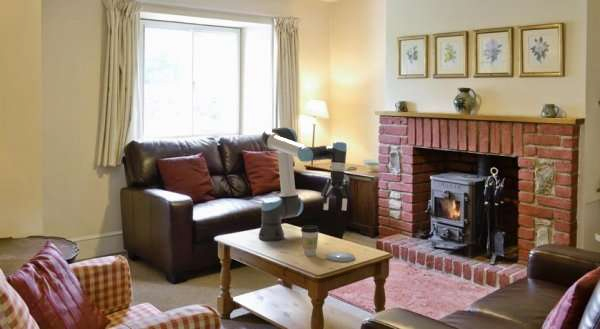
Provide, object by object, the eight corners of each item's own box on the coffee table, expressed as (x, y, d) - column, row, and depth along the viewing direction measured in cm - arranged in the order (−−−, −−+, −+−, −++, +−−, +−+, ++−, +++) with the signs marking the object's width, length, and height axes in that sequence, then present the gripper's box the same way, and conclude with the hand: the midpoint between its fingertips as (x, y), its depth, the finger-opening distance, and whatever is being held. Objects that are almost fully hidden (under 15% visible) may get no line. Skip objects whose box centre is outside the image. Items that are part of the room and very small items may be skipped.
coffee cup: (317, 257, 305) (317, 229, 303) (298, 256, 307) (299, 228, 305) (320, 252, 315) (320, 225, 313) (302, 251, 316) (302, 224, 314)
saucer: (328, 253, 312) (329, 251, 312) (355, 255, 310) (355, 252, 310) (326, 261, 298) (326, 258, 298) (353, 262, 296) (353, 260, 296)
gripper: (325, 169, 302) (322, 210, 302) (359, 172, 318) (356, 211, 318) (316, 168, 308) (313, 208, 308) (349, 172, 324) (346, 210, 324)
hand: (334, 210), depth 313 cm, fingers open, 13 cm apart
